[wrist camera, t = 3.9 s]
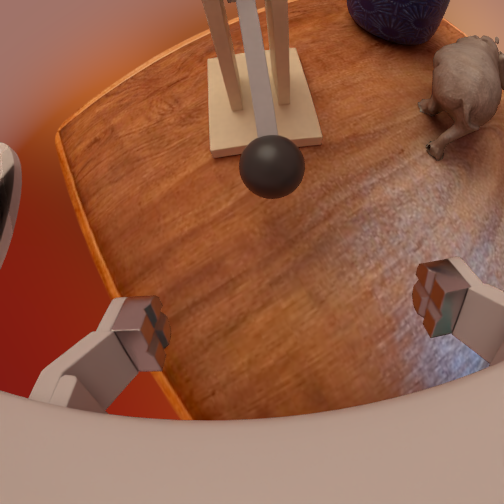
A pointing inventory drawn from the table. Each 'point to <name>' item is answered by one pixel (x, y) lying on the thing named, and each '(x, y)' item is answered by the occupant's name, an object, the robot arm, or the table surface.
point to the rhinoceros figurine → (465, 87)
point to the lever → (265, 121)
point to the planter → (399, 18)
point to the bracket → (239, 93)
